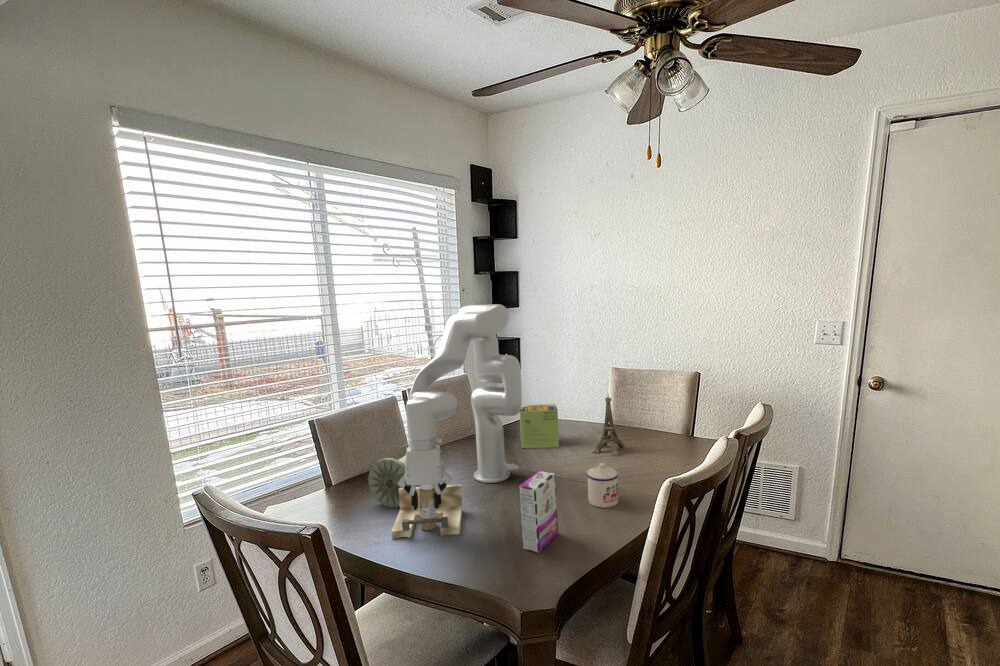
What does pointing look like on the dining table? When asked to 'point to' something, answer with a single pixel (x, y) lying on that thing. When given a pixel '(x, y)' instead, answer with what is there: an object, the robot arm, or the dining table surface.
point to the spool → (388, 478)
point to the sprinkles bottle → (427, 506)
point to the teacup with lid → (602, 486)
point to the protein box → (539, 426)
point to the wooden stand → (445, 514)
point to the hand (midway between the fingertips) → (426, 506)
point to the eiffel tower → (613, 436)
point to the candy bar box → (538, 511)
